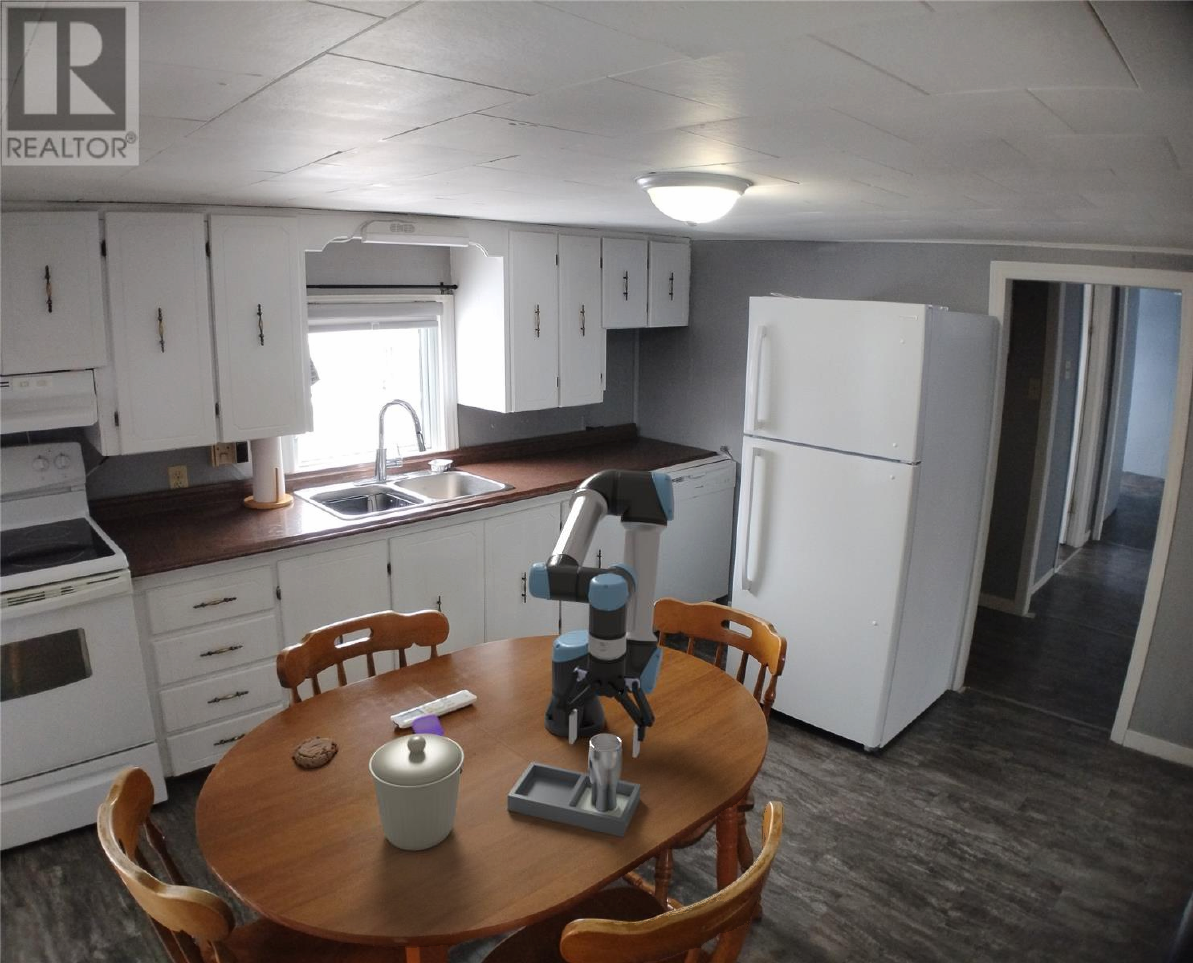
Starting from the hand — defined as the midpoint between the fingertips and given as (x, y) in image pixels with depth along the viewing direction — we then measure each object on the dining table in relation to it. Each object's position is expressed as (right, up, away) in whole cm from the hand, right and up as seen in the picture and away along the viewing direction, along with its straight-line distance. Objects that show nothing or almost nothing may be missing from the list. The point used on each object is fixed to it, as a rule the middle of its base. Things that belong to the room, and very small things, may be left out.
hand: (604, 747), depth 165 cm
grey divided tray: (-6, -14, +5) cm, 16 cm away
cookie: (-66, -9, +20) cm, 70 cm away
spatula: (-39, -9, +25) cm, 47 cm away
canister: (-37, -16, -5) cm, 40 cm away
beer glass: (0, -13, +3) cm, 14 cm away
